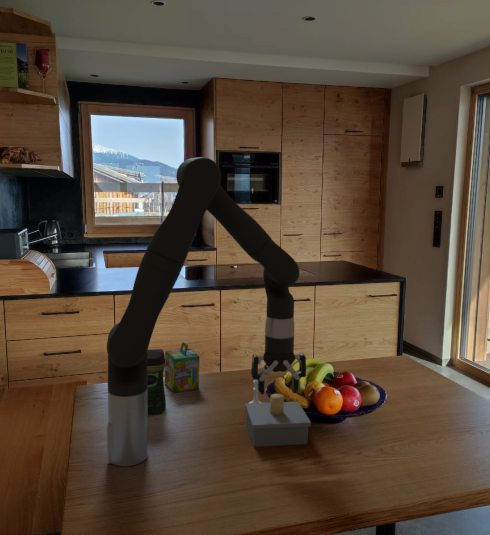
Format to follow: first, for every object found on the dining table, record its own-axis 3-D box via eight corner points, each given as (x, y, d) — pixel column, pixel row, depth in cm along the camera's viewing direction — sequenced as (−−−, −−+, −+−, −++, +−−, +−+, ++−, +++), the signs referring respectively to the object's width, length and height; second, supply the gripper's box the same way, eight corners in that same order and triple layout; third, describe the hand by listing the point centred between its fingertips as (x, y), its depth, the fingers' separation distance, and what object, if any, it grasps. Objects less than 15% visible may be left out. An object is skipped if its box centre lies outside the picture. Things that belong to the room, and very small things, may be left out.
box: (253, 450, 125) (254, 427, 124) (246, 428, 137) (247, 407, 136) (307, 447, 127) (308, 425, 126) (295, 425, 139) (296, 405, 138)
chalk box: (164, 383, 168) (164, 341, 165) (189, 379, 172) (189, 338, 170) (173, 393, 159) (173, 349, 157) (199, 389, 164) (200, 345, 162)
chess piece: (257, 411, 148) (258, 379, 147) (244, 406, 151) (245, 375, 150) (266, 406, 152) (267, 374, 150) (253, 401, 155) (254, 371, 153)
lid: (252, 428, 124) (253, 408, 123) (245, 407, 137) (245, 387, 136) (310, 426, 126) (311, 405, 125) (297, 404, 139) (298, 386, 138)
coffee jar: (165, 404, 151) (165, 345, 149) (166, 415, 144) (166, 353, 141) (132, 405, 149) (132, 346, 147) (132, 417, 142) (131, 355, 139)
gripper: (255, 338, 123) (253, 399, 126) (310, 336, 125) (308, 397, 128) (250, 329, 131) (249, 388, 133) (302, 328, 133) (300, 386, 135)
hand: (278, 392), depth 130 cm, fingers open, 8 cm apart
